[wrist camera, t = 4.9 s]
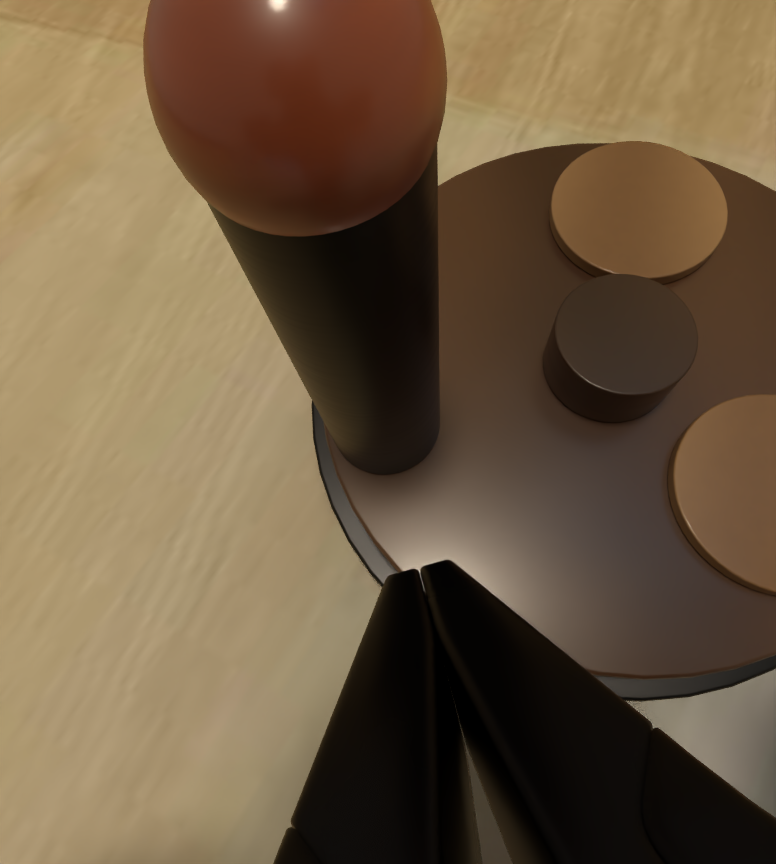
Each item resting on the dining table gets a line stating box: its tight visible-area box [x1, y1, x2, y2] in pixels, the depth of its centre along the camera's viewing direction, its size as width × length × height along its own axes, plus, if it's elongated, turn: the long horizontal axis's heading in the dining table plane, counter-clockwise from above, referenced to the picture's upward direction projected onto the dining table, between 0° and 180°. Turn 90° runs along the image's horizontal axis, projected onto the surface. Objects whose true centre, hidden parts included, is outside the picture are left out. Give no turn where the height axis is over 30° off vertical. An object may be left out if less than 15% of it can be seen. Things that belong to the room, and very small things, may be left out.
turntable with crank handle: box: [143, 0, 776, 680], centre depth 10 cm, size 14×14×11 cm
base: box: [312, 401, 776, 701], centre depth 16 cm, size 15×15×1 cm
